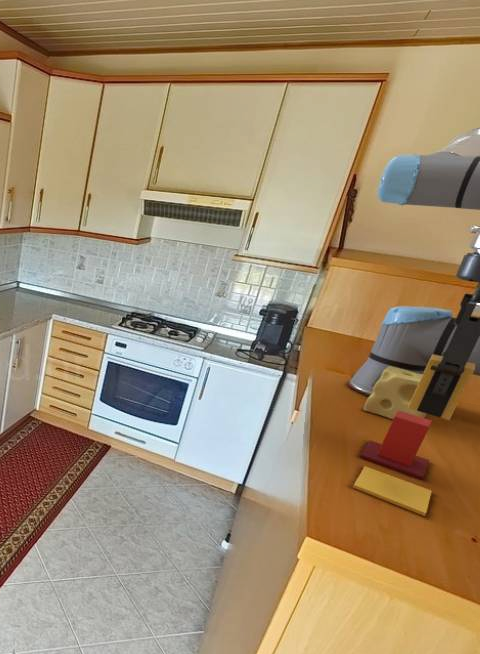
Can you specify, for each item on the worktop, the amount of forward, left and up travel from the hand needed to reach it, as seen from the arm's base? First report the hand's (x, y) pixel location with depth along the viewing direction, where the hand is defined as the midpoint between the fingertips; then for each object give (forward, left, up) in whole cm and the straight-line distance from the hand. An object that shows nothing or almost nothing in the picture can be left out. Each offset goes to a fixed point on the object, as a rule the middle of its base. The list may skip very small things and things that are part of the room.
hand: (430, 409), depth 74 cm
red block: (-9, -12, -14) cm, 21 cm away
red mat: (-9, -12, -15) cm, 21 cm away
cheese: (-27, -37, -15) cm, 49 cm away
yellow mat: (0, 0, -15) cm, 15 cm away
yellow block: (0, 0, 0) cm, 0 cm away
